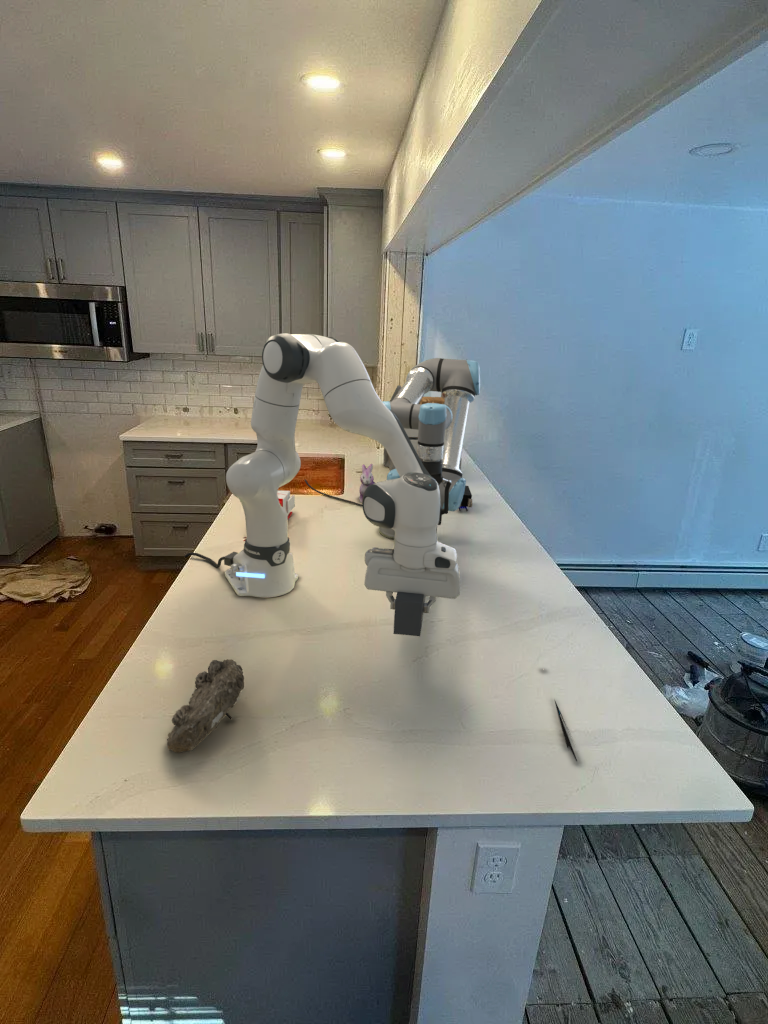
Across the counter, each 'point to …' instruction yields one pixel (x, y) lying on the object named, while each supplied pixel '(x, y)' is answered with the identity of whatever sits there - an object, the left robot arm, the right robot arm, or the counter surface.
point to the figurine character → (466, 499)
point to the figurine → (365, 479)
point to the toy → (286, 501)
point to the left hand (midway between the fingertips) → (410, 610)
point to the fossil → (206, 705)
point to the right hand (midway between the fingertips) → (424, 533)
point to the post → (408, 613)
